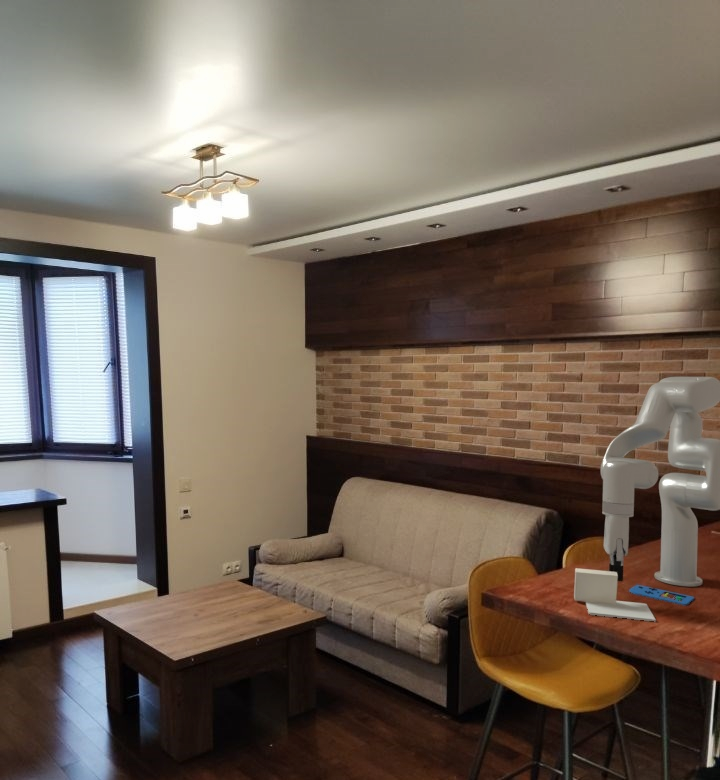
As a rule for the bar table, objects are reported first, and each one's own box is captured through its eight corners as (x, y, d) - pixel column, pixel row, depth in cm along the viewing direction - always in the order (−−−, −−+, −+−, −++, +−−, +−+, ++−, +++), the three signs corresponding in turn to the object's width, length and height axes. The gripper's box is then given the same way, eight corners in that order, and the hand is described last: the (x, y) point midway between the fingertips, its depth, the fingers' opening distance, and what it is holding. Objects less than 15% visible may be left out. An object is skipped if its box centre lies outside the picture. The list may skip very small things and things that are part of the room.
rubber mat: (584, 599, 165) (584, 597, 165) (646, 606, 162) (646, 603, 162) (589, 614, 154) (589, 612, 154) (655, 622, 150) (655, 619, 150)
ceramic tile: (573, 595, 165) (575, 567, 163) (614, 600, 162) (616, 571, 161) (574, 600, 163) (575, 571, 161) (615, 604, 160) (617, 575, 159)
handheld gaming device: (636, 583, 179) (694, 595, 169) (636, 587, 179) (694, 600, 169) (626, 589, 173) (686, 603, 163) (626, 593, 173) (686, 607, 163)
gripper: (599, 503, 171) (597, 570, 171) (605, 512, 156) (603, 586, 156) (629, 505, 169) (627, 573, 169) (638, 515, 154) (636, 590, 154)
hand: (615, 579), depth 163 cm, fingers closed
